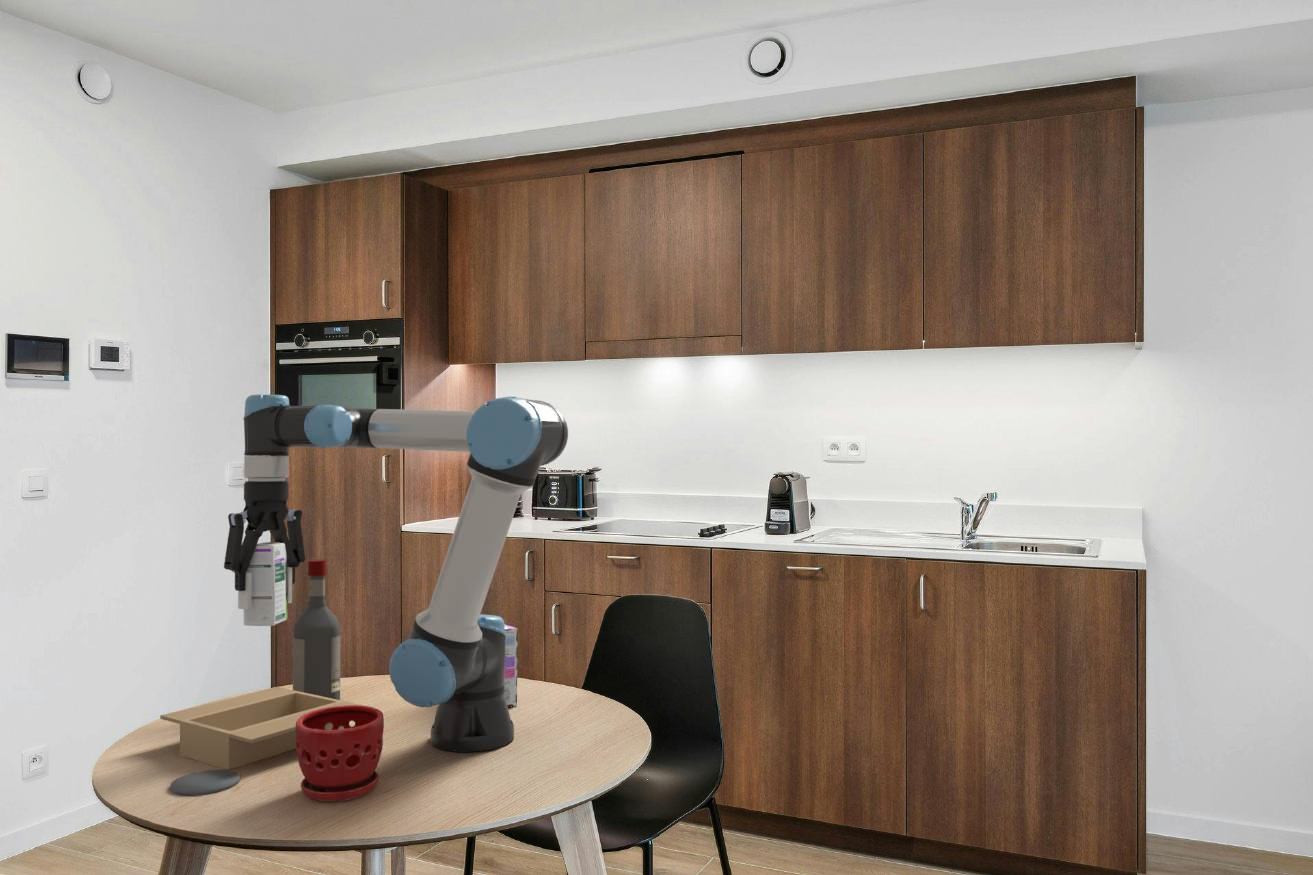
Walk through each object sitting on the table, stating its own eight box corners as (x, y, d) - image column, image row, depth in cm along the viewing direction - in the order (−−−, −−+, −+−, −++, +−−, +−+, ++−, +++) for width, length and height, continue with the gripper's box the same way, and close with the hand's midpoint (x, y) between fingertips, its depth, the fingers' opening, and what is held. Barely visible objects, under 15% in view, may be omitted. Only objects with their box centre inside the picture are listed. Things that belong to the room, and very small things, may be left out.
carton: (366, 738, 175) (366, 706, 175) (250, 776, 155) (251, 739, 155) (276, 717, 189) (277, 686, 189) (159, 749, 168) (160, 715, 169)
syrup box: (274, 626, 169) (275, 544, 169) (241, 626, 169) (242, 544, 169) (288, 620, 174) (288, 541, 175) (256, 620, 175) (256, 541, 175)
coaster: (253, 780, 153) (253, 776, 153) (194, 800, 144) (194, 796, 144) (215, 769, 158) (215, 765, 158) (157, 787, 150) (157, 783, 150)
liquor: (293, 710, 193) (295, 563, 194) (292, 700, 202) (293, 559, 202) (340, 706, 197) (341, 561, 197) (337, 695, 205) (338, 557, 206)
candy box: (518, 706, 197) (518, 627, 197) (492, 711, 194) (492, 630, 194) (490, 692, 209) (491, 617, 209) (465, 696, 205) (466, 620, 205)
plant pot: (283, 789, 149) (284, 713, 149) (365, 772, 157) (366, 700, 157) (310, 815, 139) (311, 733, 139) (396, 795, 147) (397, 718, 147)
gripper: (301, 478, 183) (300, 596, 182) (201, 480, 165) (200, 611, 165) (326, 478, 179) (326, 599, 178) (227, 481, 161) (226, 616, 161)
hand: (265, 605), depth 172 cm, fingers closed on syrup box, 8 cm apart
